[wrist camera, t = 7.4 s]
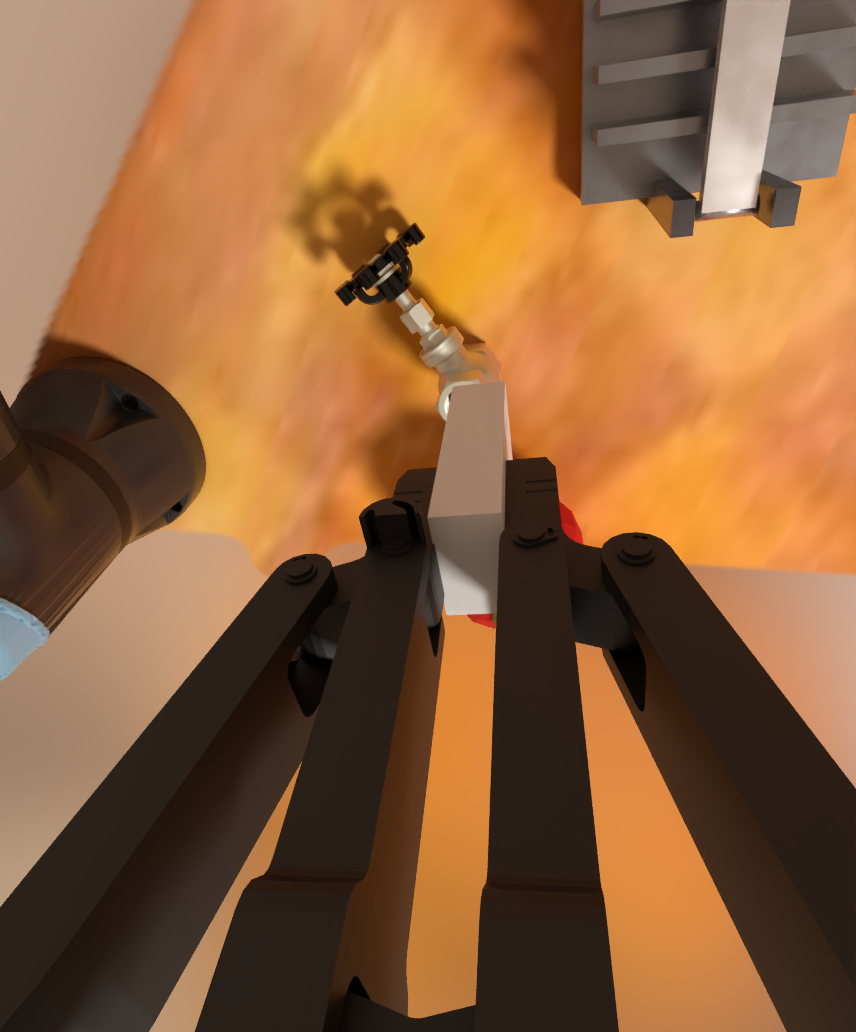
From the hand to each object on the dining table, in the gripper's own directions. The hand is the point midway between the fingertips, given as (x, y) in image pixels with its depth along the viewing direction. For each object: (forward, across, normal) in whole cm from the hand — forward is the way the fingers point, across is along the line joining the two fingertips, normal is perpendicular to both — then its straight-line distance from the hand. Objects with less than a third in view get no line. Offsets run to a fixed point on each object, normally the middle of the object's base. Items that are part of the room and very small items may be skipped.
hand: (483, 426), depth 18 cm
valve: (+26, -4, -5) cm, 26 cm away
